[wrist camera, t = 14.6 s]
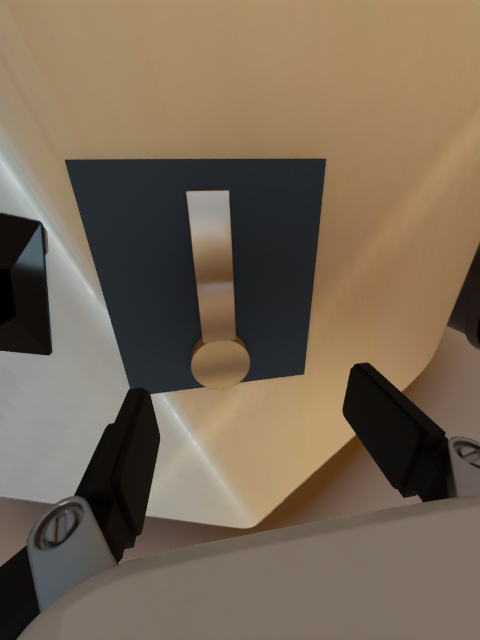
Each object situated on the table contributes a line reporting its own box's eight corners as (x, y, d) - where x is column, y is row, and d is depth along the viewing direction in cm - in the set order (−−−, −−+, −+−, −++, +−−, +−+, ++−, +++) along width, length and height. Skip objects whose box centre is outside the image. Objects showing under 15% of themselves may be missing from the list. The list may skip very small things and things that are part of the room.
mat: (323, 160, 20) (326, 158, 19) (302, 371, 29) (304, 374, 29) (68, 161, 17) (64, 159, 17) (133, 392, 26) (132, 396, 26)
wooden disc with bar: (168, 194, 19) (162, 191, 16) (242, 192, 19) (250, 189, 17) (194, 380, 26) (194, 401, 23) (247, 374, 27) (252, 393, 24)
